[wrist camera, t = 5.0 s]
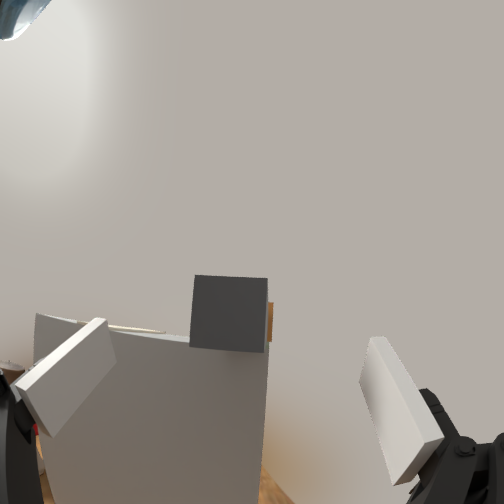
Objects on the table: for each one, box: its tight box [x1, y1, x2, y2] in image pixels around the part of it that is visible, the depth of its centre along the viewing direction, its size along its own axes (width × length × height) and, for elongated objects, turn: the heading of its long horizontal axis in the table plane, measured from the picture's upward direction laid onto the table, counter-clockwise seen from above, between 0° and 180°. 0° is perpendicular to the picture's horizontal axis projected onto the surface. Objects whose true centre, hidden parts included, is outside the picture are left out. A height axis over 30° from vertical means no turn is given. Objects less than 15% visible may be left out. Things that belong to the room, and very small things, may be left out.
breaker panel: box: [33, 313, 269, 504], centre depth 26 cm, size 17×26×30 cm, turn 87°
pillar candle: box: [0, 361, 25, 385], centre depth 40 cm, size 10×10×15 cm
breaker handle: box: [189, 275, 273, 353], centre depth 25 cm, size 26×5×5 cm, turn 177°
